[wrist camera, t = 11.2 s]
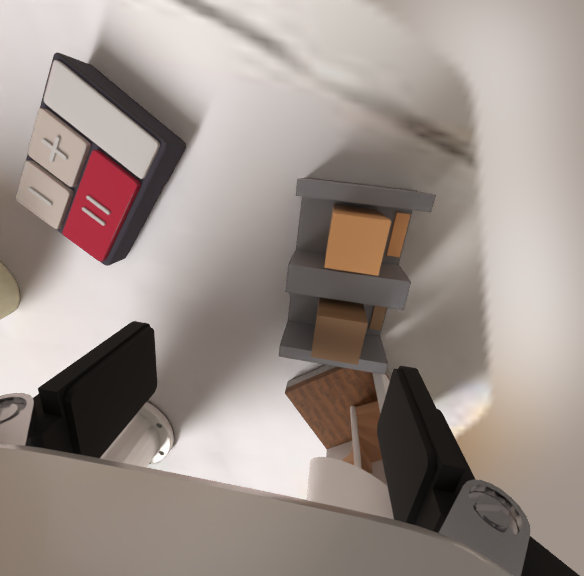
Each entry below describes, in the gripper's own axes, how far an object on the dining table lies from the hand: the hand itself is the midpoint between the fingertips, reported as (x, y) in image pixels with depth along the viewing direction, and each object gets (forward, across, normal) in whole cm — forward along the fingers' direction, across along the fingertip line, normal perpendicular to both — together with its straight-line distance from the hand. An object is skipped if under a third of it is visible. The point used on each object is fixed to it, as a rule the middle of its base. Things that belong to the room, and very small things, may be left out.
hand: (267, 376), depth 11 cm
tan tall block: (+19, -4, -4) cm, 19 cm away
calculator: (+21, +21, -6) cm, 30 cm away
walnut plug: (+19, -4, +5) cm, 20 cm away
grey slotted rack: (+20, -4, 0) cm, 20 cm away
